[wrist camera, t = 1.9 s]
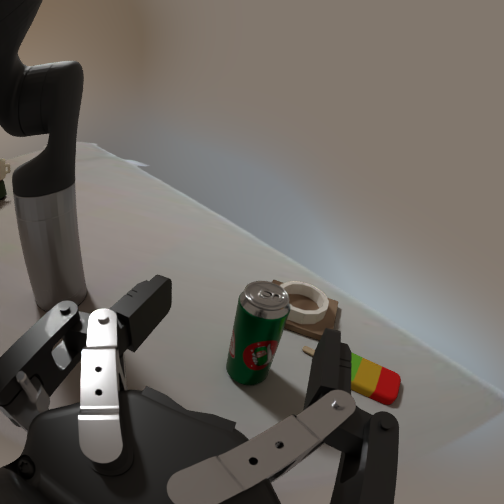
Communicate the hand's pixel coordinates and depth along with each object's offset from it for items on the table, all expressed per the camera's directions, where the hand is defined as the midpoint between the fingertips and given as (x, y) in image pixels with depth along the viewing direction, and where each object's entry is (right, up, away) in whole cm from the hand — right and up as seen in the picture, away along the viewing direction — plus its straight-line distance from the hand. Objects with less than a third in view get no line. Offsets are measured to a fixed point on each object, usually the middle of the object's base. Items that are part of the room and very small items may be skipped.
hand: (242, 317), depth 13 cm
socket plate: (+8, -6, +30) cm, 32 cm away
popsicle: (+13, -14, +20) cm, 28 cm away
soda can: (0, -11, +18) cm, 21 cm away
